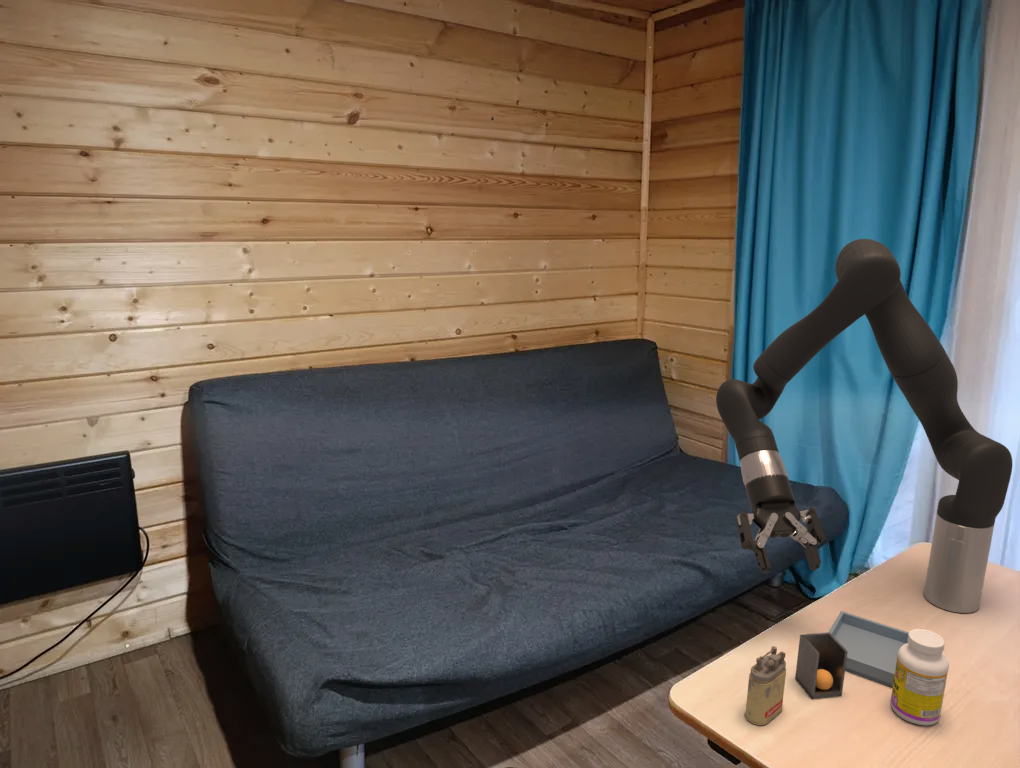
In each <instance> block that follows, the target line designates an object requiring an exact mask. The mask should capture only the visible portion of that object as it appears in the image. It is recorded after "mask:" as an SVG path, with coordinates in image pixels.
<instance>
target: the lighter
mask: <svg viewBox="0 0 1020 768" xmlns="http://www.w3.org/2000/svg"><path fill="white" fill-rule="evenodd" d="M777 650H778V647H777V646H775V645H772V646H771V649H770V651H768V652H767V653H765V654H764V655H762V656H758V657H757V658H756V660H755V662H756V663H755V664H754V665H752V666H751V667H750V672H749V675H748V676H749V677H748V683H747V695H746V704H745V710H744V711H745V712H744V717H745V719H746V720H747V721H748V722H750V723H751V724H754V725H757V726H766V725H767V724H768V723H770V722H772V720H774V719H775V718H776V717H777V716H778V715H779V714H781V712H783V705H784V704H783V702H784V694H785V685H786V676H787V668H786V667H787V665H786V664H787V663H786V660H785V658H786V652H784V651H780V652H778V653H777Z"/></svg>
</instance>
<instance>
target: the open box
mask: <svg viewBox="0 0 1020 768" xmlns="http://www.w3.org/2000/svg"><path fill="white" fill-rule="evenodd" d="M828 632H829V631H828ZM828 632H819V633H817V632H815V633H806V634H799V642H798V651H797V660H796V667H795V678H794V679H795V680H796V682H797V683H798V684H799V685H800V687H801V688H802V689H803V690H804V692H805V693H806V694H807V696H808V697H809V698H810V699H811V700H814V699H815V700H816V699H825V698H826V699H827V698H838V697H842V695H843V690H844V689H843V688H844V681H845V673H846V671H845V668H846V661H847V653H848V651H847V650H846V649H845V648H844V647H843V646H842V645H841V644H840V643H839V642H838V641H837V639H836V638H835V637H834V636H833V635H832V634H831V633H830V632H829V633H828ZM819 669H824V670H826V671H828V672H829V673H830V674H831V675H832V677H833V685H832V686H831V687H830V688H829V689H827V690H822V689H819V688H817V687H816V678H817V670H819Z"/></svg>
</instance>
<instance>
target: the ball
mask: <svg viewBox="0 0 1020 768" xmlns="http://www.w3.org/2000/svg"><path fill="white" fill-rule="evenodd" d="M832 685H833V677H832V675H831V674H830V673H829V672H828V671H826V670H824V669H819V670H817V678H816V687H817V688H819V689H822V690H827V689H829V688H830V687H831V686H832Z"/></svg>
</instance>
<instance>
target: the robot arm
mask: <svg viewBox="0 0 1020 768" xmlns="http://www.w3.org/2000/svg"><path fill="white" fill-rule="evenodd" d="M834 270H835V271H834V272H835V275H836V276H835V277H836V278H837V282H836V283H835V284H834V286H833V288H832V289H831V291H830V292H829V293H828V294H827V295H826V297H825V298H824V299H823V300H822V301H821V303H820V304H819V305H818V306H816V308H814V309H813V310H812V311H811V312H809V313H808V314H807V315H806V316H804V317H803V318H801V319H800V320H798V321H797V322H795V323H793V324H792V325H790V326H789V327H787V328H786V329H785V330H784V331H783V332H781V333H780V334H779V335H778V336H777V337H776V338H775V339H774V340H773V341H772V342H771V343H770V344H768V347H766V349H764V350H763V352H762V353H761V354H760V355H759V356H758V357H757V358H756V359H755V360H754V362H753V366H752V367H753V372H754V373H755V376H757V378H756V379H755V381H754V382H753V383H749V382H747V381H744V380H740V379H734V378H733V379H727V380H726V381H724V382H722V383H721V384H720V386H719V387H718V389H717V391H716V396H715V397H716V398H715V401H716V404H715V405H716V409H717V411H718V414H719V417H720V418H721V420H722V422H723V425H724V426H725V427H726V429H727V431H728V433H729V434H730V437H731V438H732V439H733V441H734V443H735V448H736V452H737V456H738V460H739V464H740V471H741V476H742V482H743V484H744V488H745V491H746V496H747V499H748V502H749V503H748V504H749V506H750V509H751V511H752V513H748V512H746V511H745V510H743V511H741V512H740V513H739V514H738V515H736V517H735V522H736V526H737V532H738V533H737V534H738V536H739V542H740V547H741V548H742V549H743V550H750V551H752V552H753V554H754V557H755V560H756V564H757V567H758V570H760V571H761V572H762V574H768V573H770V572H771V571H772V566H771V562H770V559H769V555H768V550H767V548H764V547H765V545H766V543H767V541H768V539H769V538H770V539H775V538H778V537H779V538H788V537H790V538H791V539H793V540H794V541H795V542H798V543H799V544H801V546H802V547H803V548H805V549H804V554H805V557H806V561H807V563H808V567H809V568H808V569H809V571H817V570H818V569H819V568H820V565H821V564H822V561H821V560H822V559H821V557H820V554H819V549H818V547H817V546H819V545H820V544H821V543H822V542H824V541H825V540H826V538H827V537H826V535H825V533H824V529H823V526H822V524H821V522H820V519H819V516H818V513H817V511H816V509H815V508H814V507H810V508H808V509H806V510H799V509H798V507H797V506H796V500H795V497H794V492H793V489H792V486H791V482H790V479H789V476H788V472H787V470H786V467H785V464H784V461H783V459H782V456H781V455H780V452H779V448H778V445H777V442H776V438H775V435H774V433H773V430H772V428H771V427H769V426H768V425H767V424H766V423H764V422H763V421H761V419H763V418H765V417H766V416H768V415H769V413H770V412H771V411H772V410H773V409H774V407H775V405H776V403H777V402H778V400H779V398H780V397H781V395H782V394H783V391H784V390H785V387H786V386H787V384H788V383H789V382H790V381H791V380H792V379H793V378H795V376H796V375H797V374H799V372H801V370H803V369H804V367H805V366H806V365H807V364H808V363H809V362H810V361H811V360H813V358H814V357H815V356H817V354H818V353H819V352H820V351H822V350H823V349H824V348H825V347H827V345H828V344H829V343H831V342H832V341H833V340H834V339H835V338H837V337H838V336H839V335H840V334H841V333H842V332H844V331H845V330H846V329H848V328H849V327H850V326H852V324H854V323H855V322H856V321H858V320H859V319H860V318H861V317H862V318H863V316H865V317H866V319H867V321H868V323H869V325H870V328H871V331H872V333H873V336H874V338H875V341H876V344H877V347H878V349H879V351H880V354H881V356H882V359H883V360H884V363H885V365H886V367H887V368H888V372H889V373H890V374H891V376H892V378H893V380H894V382H895V383H896V385H897V387H898V388H899V390H900V391H901V393H902V394H903V396H904V397H905V399H906V401H907V403H908V404H909V406H910V408H911V410H912V411H913V413H914V415H915V416H916V417H917V419H918V420H919V422H920V424H921V426H922V429H923V430H924V431H925V434H926V437H927V439H928V442H929V445H930V447H931V449H932V452H933V455H934V457H935V459H936V460H937V462H938V465H939V466H940V467H941V469H942V470H943V471H945V473H947V475H949V476H951V477H953V478H954V479H956V480H958V484H957V487H956V493H955V494H949V495H944V496H942V497H941V498H940V499H938V500H939V501H938V503H937V509H936V516H935V522H934V529H933V535H932V542H931V547H930V551H929V553H930V554H929V558H928V563H927V564H928V566H927V571H926V577H925V583H924V588H923V589H924V590H923V597H924V598H925V599H926V600H927V601H928V602H929V603H930V604H932V605H934V606H935V607H937V608H940V609H943V610H945V611H948V612H952V613H959V614H970V613H971V614H972V613H974V612H976V611H978V610H979V608H980V604H981V599H982V593H983V588H984V583H985V578H986V573H987V567H988V561H989V556H990V550H991V546H992V539H993V533H994V529H995V523H996V519H997V516H998V515H999V514H1000V513H1001V511H1002V510H1003V507H1004V505H1005V500H1006V497H1007V493H1008V489H1009V486H1010V485H1009V484H1010V482H1011V478H1012V477H1011V476H1012V473H1013V457H1012V454H1011V452H1010V450H1009V448H1007V446H1005V445H1004V444H1003V443H1000V442H998V441H997V440H994V439H993V438H990V437H988V436H985V435H983V434H982V433H980V432H978V431H977V430H976V429H975V428H974V427H973V425H972V424H971V423H970V421H969V420H968V419H967V417H966V415H965V414H964V411H963V410H962V409H961V407H960V405H959V402H958V388H959V385H958V382H959V381H958V376H957V372H956V369H955V367H954V365H953V362H952V361H951V358H950V357H949V355H948V353H947V352H946V350H945V348H944V346H943V344H942V343H941V342H940V340H939V338H938V337H937V335H936V334H935V332H934V330H932V328H931V326H930V325H929V324H928V323H927V321H926V320H925V318H924V317H923V316H922V315H921V313H920V311H918V309H917V308H916V307H915V306H914V304H913V303H912V301H911V299H910V298H909V296H908V294H907V291H906V290H905V288H904V286H903V283H902V281H901V276H902V272H901V267H900V265H899V262H898V261H897V259H896V257H895V256H894V254H893V253H892V252H891V250H890V249H889V247H887V246H886V245H884V243H882V242H879V241H878V240H874V239H870V238H858V239H854V240H852V241H850V242H848V243H846V244H845V246H843V248H842V249H841V250H840V251H839V253H838V255H837V259H836V261H835V269H834ZM800 520H802V523H801V522H800ZM803 523H805V525H806V527H805V526H804V525H803ZM752 524H754V525H756V526H757V528H759V530H758V532H757V534H756V536H755V540H754V539H753V535H752V534H753V533H752V529H751V525H752Z"/></svg>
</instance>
